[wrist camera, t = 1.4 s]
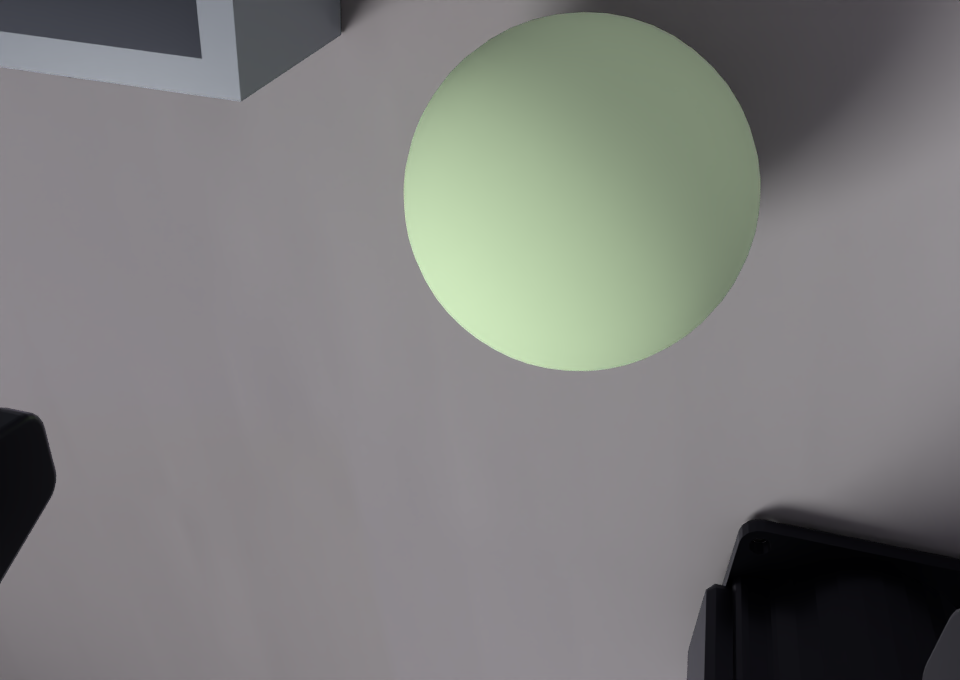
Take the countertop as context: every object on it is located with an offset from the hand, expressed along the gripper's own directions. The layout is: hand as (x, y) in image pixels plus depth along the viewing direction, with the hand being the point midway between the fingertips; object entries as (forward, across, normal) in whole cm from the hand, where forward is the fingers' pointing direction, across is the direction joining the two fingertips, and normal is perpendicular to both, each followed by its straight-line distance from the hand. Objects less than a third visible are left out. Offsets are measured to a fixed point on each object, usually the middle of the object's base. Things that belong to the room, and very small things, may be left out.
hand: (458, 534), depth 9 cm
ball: (+11, 0, 0) cm, 11 cm away
